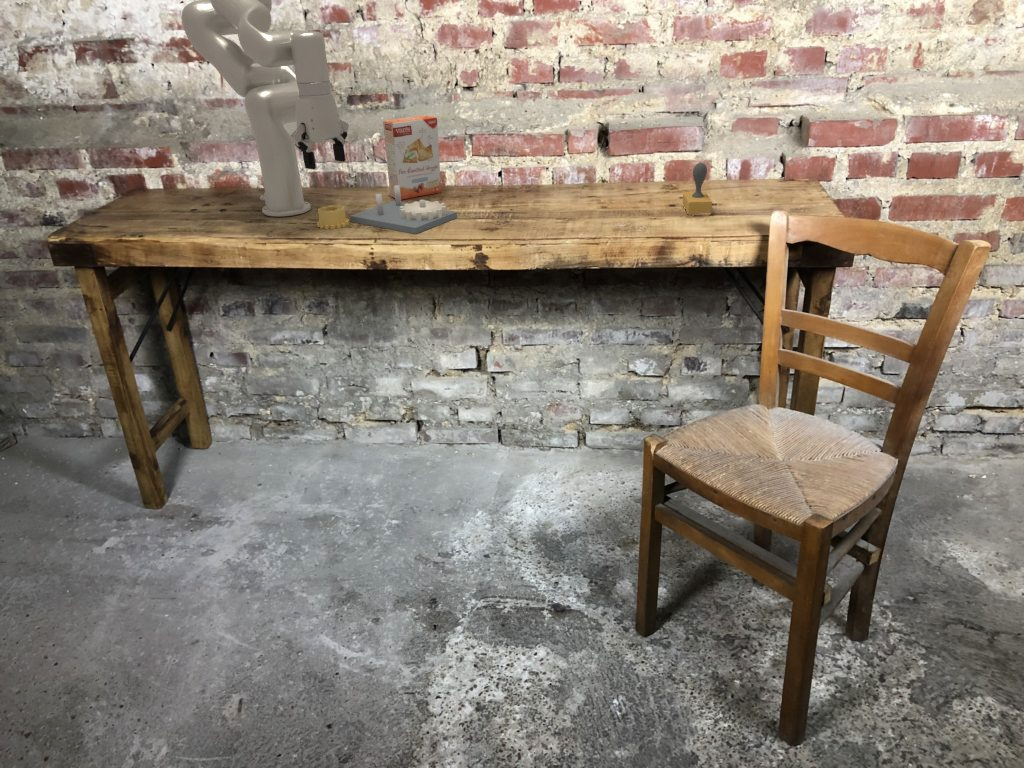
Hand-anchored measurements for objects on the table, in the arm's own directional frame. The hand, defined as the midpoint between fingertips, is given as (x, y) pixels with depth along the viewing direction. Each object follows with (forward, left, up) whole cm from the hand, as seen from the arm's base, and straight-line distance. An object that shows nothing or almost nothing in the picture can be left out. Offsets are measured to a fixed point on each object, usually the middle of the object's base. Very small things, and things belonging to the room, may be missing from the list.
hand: (325, 164), depth 185 cm
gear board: (+13, +12, -15) cm, 23 cm away
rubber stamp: (+74, +55, -15) cm, 93 cm away
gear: (0, 0, -15) cm, 15 cm away
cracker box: (-1, +33, -15) cm, 36 cm away
